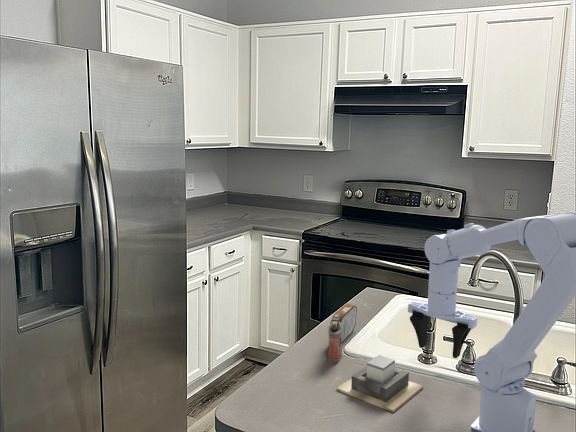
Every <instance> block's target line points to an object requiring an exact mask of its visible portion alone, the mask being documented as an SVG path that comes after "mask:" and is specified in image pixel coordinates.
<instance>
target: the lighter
mask: <svg viewBox="0 0 576 432" xmlns="http://www.w3.org/2000/svg"><path fill="white" fill-rule="evenodd" d="M334 314H335V313H334ZM331 320H332V322H331V321H330V323H331V324H329V327H328V329H327V330H328V331H327V332H328V352H327V359H328V362H329V363H331V364H338V363H340V361H341V359H342V357H343V348H342V345H343V342H342V338H343V333H342V331H343V324H342V323H341V322H339V314H335V316H334V318H331Z"/></svg>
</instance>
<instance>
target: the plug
mask: <svg viewBox="0 0 576 432" xmlns="http://www.w3.org/2000/svg"><path fill="white" fill-rule="evenodd" d="M366 366H367V378H369V379H372V380H374V381H377V382H380V383H382V384H385V383H386V382H387V381H389V380H390V379H391V378H393V377H394V371H395V368H396V359H393V358H390V357H387V356H384V355H380V354H378V355H377V356H375V357H373V358H372V359H371V360H369V361H368V362H366Z"/></svg>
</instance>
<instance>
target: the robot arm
mask: <svg viewBox="0 0 576 432" xmlns="http://www.w3.org/2000/svg"><path fill="white" fill-rule="evenodd" d="M463 226H464V228H460V229H457V230H456V229H448V230H447V231H446V233H442V234H433V235H432V236H430V237H428V238H427V239H426V241H425V242H424V246H423V247H424V254H425V257H426V258H427V260H428V261H429V268H428V269H429V271H428V272H429V273H428V294H427V303H422V302H418V301H417V302H416V301H411V302H409V303H408V304H407V313H411V314H412V315H410V316H409V322H410V323H411V325H412V326H413V329H414V331H415V334H416V335H415V336H416V338H417V342H418V343H417V344H418V347H419V348H420V349H422V348H424V347H426V346H427V342H428V327H429V321H430V317H431V318H434V319H438V320H442V321H446V322H449V323H454V324H456V325H454V326H453V327H452V328H451V331H452V339H453V340H452V341H453V343H452V344H453V345H452V358H453V359H458V357H460V356H461V353H462V349H463V345H464V343H465V342H466V341H465V340H466V339H467V338H468V336H469V333H470V332H471V330H473V329H475V328H476V327H477V323H478V317H477V316H472V315H469V314H467V313H466V312H463V311H460V310H458V309H457V294H458V280H459V279H458V277H459V268H460V267H461V262H462V259H466V258H471V257H476V256H480V255H485V254H487V253H488V252H489V251H490V249H491V247H492V246H493V245H497V244H498V245H499V244H502V243H508V242H513V241H517V240H518V241H519V243H520V245H521V246H527V248H528V249H529V251H530V253H531V255H533V258H534V259H535V260H536V262H537V264H538V266H539V267H540V269H541V270H542V272H543V273H544V274H545V277H544V279H543V281H542V282H541V283H540V285H539V286H538V288H537V289H536V291H535V292H534V293H533V295H532V297H531V298H530V300H528V302H527V304H526V305H525V307H524V308H523V310H522V311H521V312H520V314H519V316H518V317H517V319H515V322H514V323H513V324H512V326H511V327H510V329H509V330H508V331H507V333H506V334H505V336H504V338H502V339H501V340H500V341H498V342H497V343H496V344H495V345H493V346H492V347H490V348H489V349H488V351H487V353H485V354H483V355H480V356H478V357H477V358H476V359H475V362H474V365H473V368H474V369H473V370H474V371H473V372H474V375H475V377H476V378H477V381H478V382H479V385H480V388H481V389H480V390H481V391H480V402H479V403H480V404H479V415H478V417H476V419H475V420H474V421H473V423H472V424H470V428H471V429H472V430H475V431H477V432H534V431H535V416H536V408H537V407H536V405H537V397H536V394H534V393H533V392H531V391H529V390H527V389H526V388H524V385H525V381H526V379H527V378H528V377H530V376H531V374H532V373H533V370H534V369H533V368H534V363H535V360H537V359H536V358H537V357H538V354H537V353H536V349H537V348H538V346H539V345H540V344H541V342H542V341H543V340H544V339H545V337H546V336H547V335H548V333H549V332H550V330H551V329H552V328H553V326H554V325H555V324H556V322H557V321H558V320H559V319H560V317H561V316H562V315H563V314H564V311H566V309H568V308H567V307H568V306H569V305H570V304H571V302H572V301H573V299H574V298H575V297H576V212H575V211H574V212H573V211H569V212H565V213H563V214H558V213H557V214H548V215H537V216H530V217H529V216H528V217H523V218H518V219H514V220H512V221H508V222H505V223H502V224H498V225H494V226H493V227H492V226H491V227H489V228H486V227H484V226H483V225H480V224H475V223H474V222H471V223H466V224H464V225H463Z"/></svg>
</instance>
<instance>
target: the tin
mask: <svg viewBox="0 0 576 432" xmlns="http://www.w3.org/2000/svg"><path fill="white" fill-rule="evenodd" d="M357 313H358V308H357V306H356V305H355V304H350V303H348V302H346V303H344V304H343V305H342V306H341V307H340V308H339V309H337V310H336V311H335V312H334V314H333V316H332V318H334V316H335V314H339V322H341V323H342V324H343V331H342V333H343V338H342V343H343V342H344V341H346V339H347V338H349V336H350V335H351V334H352V333H353V332H354V330H355V327H356V323H357ZM332 318H331V321H330V324H331V322H332ZM330 324H329V325H330Z"/></svg>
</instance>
